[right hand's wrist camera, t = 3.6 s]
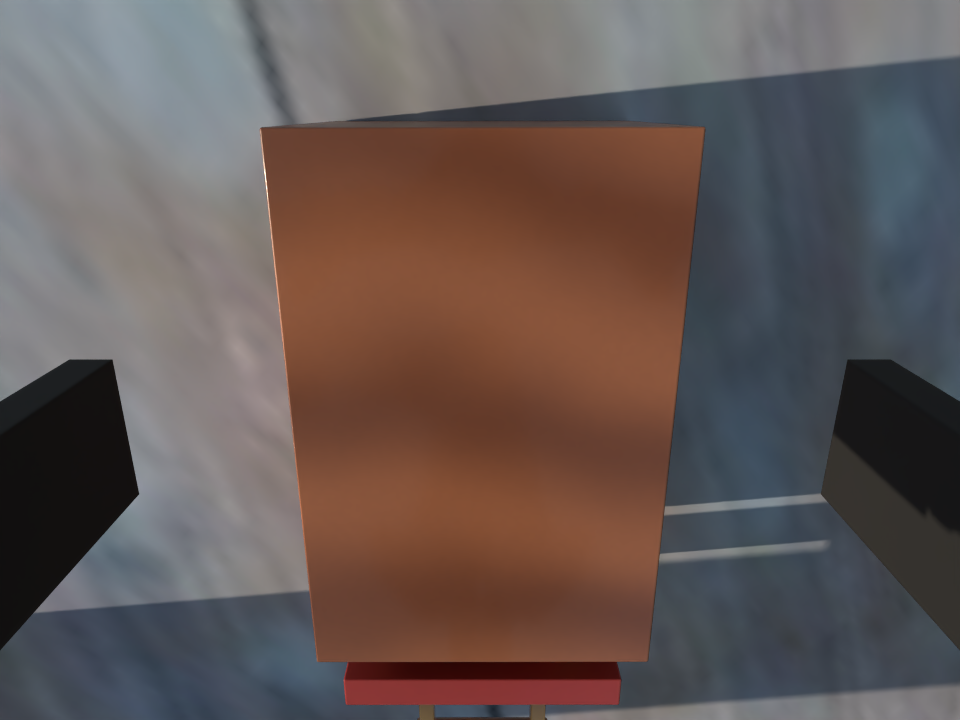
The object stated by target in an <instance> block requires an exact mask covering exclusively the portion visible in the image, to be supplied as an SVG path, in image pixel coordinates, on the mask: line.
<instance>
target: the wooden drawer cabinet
mask: <svg viewBox="0 0 960 720" xmlns="http://www.w3.org/2000/svg"><path fill="white" fill-rule="evenodd" d="M260 137H261V146H262V155H263V164H264V174H265V183H266V192H267V202H268V211H269V220H270V229H271V239H272V248H273V257H274V266H275V276H276V285H277V294H278V304H279V313H280V322H281V331H282V341H283V350H284V359H285V368H286V378H287V387H288V396H289V406H290V415H291V424H292V433H293V443H294V452H295V461H296V470H297V480H298V489H299V498H300V508H301V517H302V526H303V535H304V545H305V554H306V563H307V572H308V582H309V591H310V600H311V610H312V619H313V628H314V637H315V647H316V656H317V662H647V661H648V657H649V648H650V639H651V630H652V620H653V611H654V602H655V593H656V583H657V574H658V565H659V555H660V546H661V537H662V528H663V518H664V509H665V500H666V490H667V481H668V472H669V463H670V453H671V444H672V435H673V425H674V416H675V407H676V398H677V388H678V379H679V370H680V361H681V351H682V342H683V333H684V323H685V314H686V305H687V296H688V286H689V277H690V268H691V258H692V249H693V240H694V231H695V221H696V212H697V203H698V194H699V184H700V175H701V166H702V156H703V147H704V138H705V127H700V126H687V125H675V124H662V123H650V122H637V121H333V122H320V123H308V124H297V125H285V126H273V127H262V128H260Z"/></svg>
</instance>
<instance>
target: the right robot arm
mask: <svg viewBox="0 0 960 720" xmlns="http://www.w3.org/2000/svg"><path fill="white" fill-rule="evenodd" d="M138 495H139V491H138V486H137V481H136V476H135V471H134V466H133V461H132V456H131V451H130V446H129V441H128V436H127V431H126V426H125V421H124V416H123V411H122V406H121V400H120V395H119V390H118V385H117V380H116V375H115V370H114V365H113V360H68V361H66V362H65V363H63V364H61V365H60V366H58V367H57V368H55V369H53V370H52V371H50V372H48V373H47V374H45V375H43V376H42V377H40V378H38V379H37V380H35V381H33V382H32V383H30V384H28V385H27V386H25V387H23V388H22V389H20V390H19V391H17V392H15V393H14V394H12V395H10V396H9V397H7V398H5V399H4V400H2V401H0V650H1V649H2V648H3V646H4V645H5V644H6V643H7V642H8V641H9V640H10V639H11V637H12V636H13V635H14V634H15V633H16V632H17V631H18V630H19V629H20V627H21V626H22V625H23V624H24V623H25V622H26V621H27V620H28V618H29V617H30V616H31V615H32V614H33V613H34V612H35V611H36V609H37V608H38V607H39V606H40V605H41V604H42V603H43V602H44V600H45V599H46V598H47V597H48V596H49V595H50V594H51V593H52V591H53V590H54V589H55V588H56V587H57V586H58V585H59V584H60V582H61V581H62V580H63V579H64V578H65V577H66V576H67V575H68V573H69V572H70V571H71V570H72V569H73V568H74V567H75V566H76V564H77V563H78V562H79V561H80V560H81V559H82V558H83V557H84V555H85V554H86V553H87V552H88V551H89V550H90V549H91V548H92V546H93V545H94V544H95V543H96V542H97V541H98V540H99V539H100V537H101V536H102V535H103V534H104V533H105V532H106V531H107V530H108V529H109V527H110V526H111V525H112V524H113V523H114V522H115V521H116V520H117V518H118V517H119V516H120V515H121V514H122V513H123V512H124V511H125V509H126V508H127V507H128V506H129V505H130V504H131V503H132V502H133V500H134V499H135V498H136V497H137V496H138ZM821 495H822V496H823V497H824V498H825V499H826V500H827V502H828V503H829V504H830V505H831V506H832V507H833V508H834V509H835V511H836V512H837V513H838V514H839V515H840V516H841V517H842V518H843V520H844V521H845V522H846V523H847V524H848V525H849V526H850V527H851V529H852V530H853V531H854V532H855V533H856V534H857V535H858V536H859V537H860V539H861V540H862V541H863V542H864V543H865V544H866V545H867V546H868V548H869V549H870V550H871V551H872V552H873V553H874V554H875V555H876V557H877V558H878V559H879V560H880V561H881V562H882V563H883V564H884V566H885V567H886V568H887V569H888V570H889V571H890V572H891V573H892V575H893V576H894V577H895V578H896V579H897V580H898V581H899V582H900V584H901V585H902V586H903V587H904V588H905V589H906V590H907V591H908V593H909V594H910V595H911V596H912V597H913V598H914V599H915V600H916V602H917V603H918V604H919V605H920V606H921V607H922V608H923V609H924V611H925V612H926V613H927V614H928V615H929V616H930V617H931V618H932V620H933V621H934V622H935V623H936V624H937V625H938V626H939V627H940V629H941V630H942V631H943V632H944V633H945V634H946V635H947V636H948V637H949V639H950V640H951V641H952V642H953V643H954V644H955V645H956V646H957V648H958V649H959V650H960V401H958V400H956V399H955V398H953V397H951V396H950V395H948V394H946V393H945V392H943V391H941V390H940V389H938V388H937V387H935V386H933V385H932V384H930V383H928V382H927V381H925V380H923V379H922V378H920V377H918V376H917V375H915V374H913V373H912V372H910V371H908V370H907V369H905V368H903V367H902V366H900V365H899V364H897V363H895V362H894V361H892V360H847V365H846V370H845V375H844V380H843V385H842V390H841V395H840V400H839V406H838V411H837V416H836V421H835V426H834V431H833V436H832V441H831V446H830V451H829V456H828V461H827V466H826V471H825V476H824V481H823V486H822V491H821Z"/></svg>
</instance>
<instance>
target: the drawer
mask: <svg viewBox="0 0 960 720" xmlns="http://www.w3.org/2000/svg"><path fill="white" fill-rule="evenodd" d="M344 689H345V700H346V705H419V714H420V717H419V718H418V719H417V720H547V718H546V717H545V705H618V704H619V700H620V689H621V676H620V672H619V668H618V664H617V662H348V664H347V668H346V672H345V677H344ZM435 705H530V715H529V717H435Z"/></svg>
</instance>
